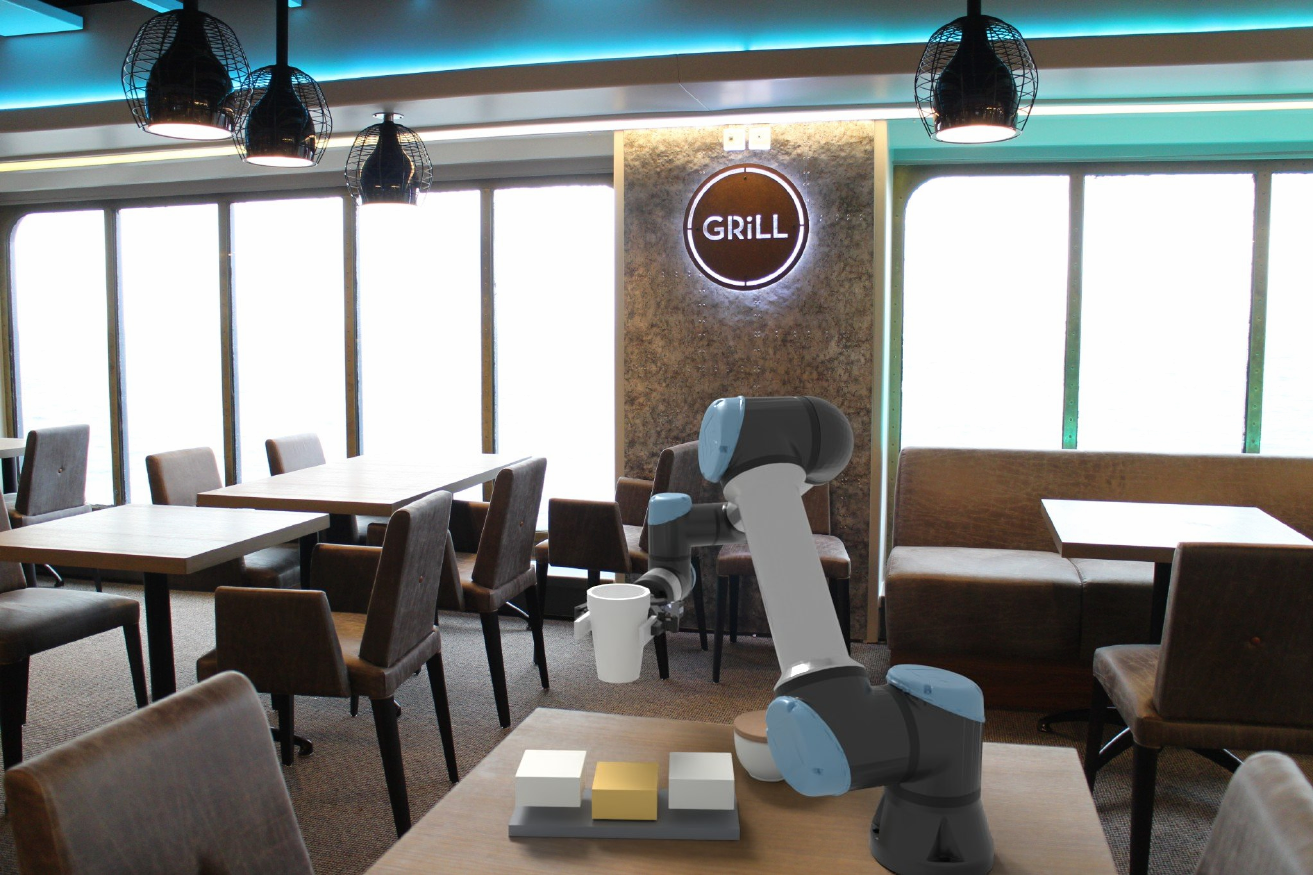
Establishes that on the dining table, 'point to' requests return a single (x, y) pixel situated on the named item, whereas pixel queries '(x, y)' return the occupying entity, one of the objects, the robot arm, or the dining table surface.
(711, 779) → the key
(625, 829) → the keypad base
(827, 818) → the dining table surface
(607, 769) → the amber key
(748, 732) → the lidded jar
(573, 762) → the key
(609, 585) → the foam cup
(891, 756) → the robot arm
